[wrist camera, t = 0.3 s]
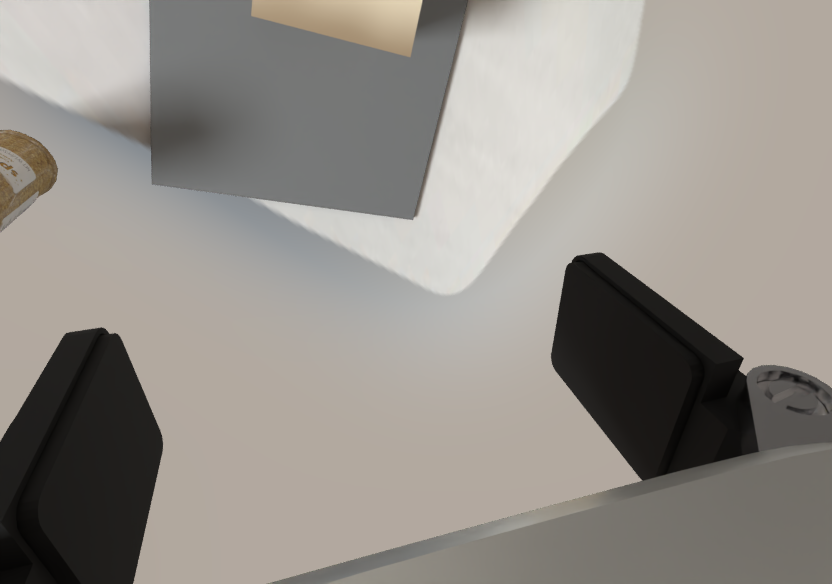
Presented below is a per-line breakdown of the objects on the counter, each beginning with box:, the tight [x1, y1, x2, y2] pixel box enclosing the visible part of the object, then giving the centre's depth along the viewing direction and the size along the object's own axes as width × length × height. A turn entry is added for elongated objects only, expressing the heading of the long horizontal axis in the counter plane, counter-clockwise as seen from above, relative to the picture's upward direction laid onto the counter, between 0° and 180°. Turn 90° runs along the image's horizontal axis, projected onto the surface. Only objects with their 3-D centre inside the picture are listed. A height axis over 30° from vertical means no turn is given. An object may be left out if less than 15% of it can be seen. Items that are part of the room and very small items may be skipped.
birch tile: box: [251, 0, 422, 57], centre depth 27 cm, size 3×8×10 cm, turn 76°
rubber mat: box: [149, 0, 468, 220], centre depth 34 cm, size 20×20×1 cm
